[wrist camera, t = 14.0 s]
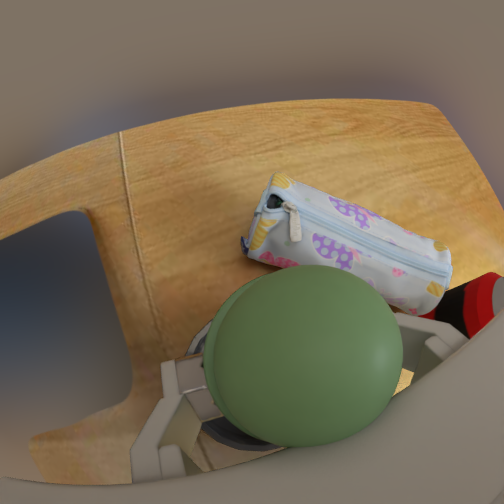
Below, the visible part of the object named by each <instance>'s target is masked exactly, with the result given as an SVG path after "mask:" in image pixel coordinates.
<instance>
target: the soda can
mask: <svg viewBox="0 0 504 504" xmlns="http://www.w3.org/2000/svg"><path fill="white" fill-rule="evenodd" d="M503 308H504V277H502V276H500V275H498V274H496V273H493V272H489V273H486V274H484V275H482V276H480V277H478V278H476V279H473V280H471V281H469V282H467V283H464V284H462V285H460V286H458V287H455V288H453V289H450V290H448V291H446V292H444V295H443V297H442V299H441V300H440V302H439V303H438V305H437V306H436V307H435V308H434V309H433V310H432V311H430V312H429V313H427V314H424V315H418V317H421V318H426V319H430V320H435V321H440V322H444V323H449V324H450V325H452V326H453V327H454V328H455V329H457V330H458V331H459V332H460V333H462V334H463V335H464V336H465V337H466V338H468V339H469V340H470V339H471V338H472V337H473V336H475V335H476V334H477V333H478V332H479V331H480V330H481V329H482V328H483V327H484V326H485V325H486V324H488V323H489V322H490V321H491V320H492V319H493V318H494V317H495V316H496V315H497V314H498V313H499V312H500V311H501V310H502V309H503Z"/></svg>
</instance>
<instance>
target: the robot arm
mask: <svg viewBox="0 0 504 504" xmlns="http://www.w3.org/2000/svg"><path fill="white" fill-rule="evenodd" d="M393 314H394V316H395V318H396V320H397V323H398V326H399V329H400V333H401V338H402V346H403V362H402V368H404V369H407V370H409V371H412V372H414V375H413V377H412V380H411V383H410V385H409V386H408V387H406V388H405V389H403V390H402V391H400V392H399V393H397V394H395V395H394V396H392V398H391V399H390V401H389V403H388V405H387V406H386V407H385V409H384V410H383V412H382V413H381V414H380V415H379V416H378V417H377V418H376V419H375V420H374V421H373V422H372V423H370V424H369V425H368V426H367V427H365V428H364V429H362V430H361V431H359V432H358V433H356V434H354V435H352V436H350V437H348V438H345V439H343V440H340V441H337V442H333V443H330V444H326V445H320V446H313V447H288V448H286V449H283V450H280V451H278V452H275V453H272V454H269V455H266V456H263V457H260V458H257V459H254V460H250V461H247V462H244V463H240V464H237V465H233V466H229V467H226V468H222V469H218V470H213V471H209V472H205V473H204V472H203V471H202V470H201V469H200V468H199V467H198V466H197V465H196V464H195V463H194V462H193V461H192V460H191V459H190V456H191V453H192V451H193V448H194V445H195V442H196V439H197V436H198V434H199V431H200V428H201V425H202V422H205V421H209V420H212V419H215V418H219V417H222V416H224V415H223V414H222V412H221V411H220V410H219V408H218V407H217V405H216V404H215V402H214V400H213V398H212V396H211V394H210V392H209V389H208V386H207V383H206V379H205V374H204V365H203V353H202V352H201V353H198V354H194V355H190V356H186V357H181V358H177V359H175V360H170V361H166V362H161V366H160V367H161V378H162V388H163V397H164V398H163V399H160V400H159V401H158V403H157V405H156V406H155V408H154V410H153V411H152V413H151V415H150V416H149V418H148V420H147V421H146V423H145V425H144V427H143V428H142V430H141V432H140V433H139V435H138V437H137V438H136V440H135V442H134V443H133V445H132V447H131V449H130V463H131V474H132V483H131V484H115V485H70V484H55V483H44V482H36V481H28V480H22V479H16V478H11V477H2V478H0V504H504V308H503V309H502V310H501V311H500V312H499V313H498V314H497V315H496V316H495V317H494V318H493V319H492V320H491V321H490V322H489V323H488V324H486V325H485V326H484V327H483V328H482V329H481V330H480V331H479V332H478V333H477V334H476V335H475V336H473V337H472V338H471V339H470V340H469V339H468V338H466V337H465V336H464V335H463V334H462V333H460V332H459V331H458V330H457V329H455V328H454V327H453V326H452V325H450V324H449V323H444V322H440V321H435V320H430V319H426V318H421V317H417V316H412V315H408V314H403V313H399V312H397V313H394V312H393Z"/></svg>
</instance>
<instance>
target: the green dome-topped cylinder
mask: <svg viewBox="0 0 504 504" xmlns="http://www.w3.org/2000/svg"><path fill="white" fill-rule="evenodd" d="M402 362H403V346H402V338H401V333H400V329H399V326H398V323H397V320H396V318H395V316H394V314H393V312H392V310H391V308H390V307H389V305H388V304H387V302H386V301H385V299H384V298H383V297H382V296H381V295H380V294H379V292H378V291H377V290H375V289H374V288H373V287H372V286H371V285H370V284H368V283H367V282H366V281H364V280H363V279H361V278H359V277H357V276H356V275H354V274H352V273H350V272H347V271H345V270H342V269H339V268H335V267H331V266H325V265H299V266H293V267H288V268H285V269H281V270H278V271H276V272H274V273H270V274H267V275H263V276H261V277H258V278H256V279H254V280H252V281H250V282H248V283H247V284H245V285H243V286H242V287H240V288H239V289H238V290H237V291H235V292H234V293H233V294H232V295H231V296H230V297H229V298H228V299H227V300H226V301H225V302H224V303H223V305H222V306H221V308H220V309H219V310H218V312H217V313H216V315H215V317H214V319H213V321H212V322H211V325H210V328H209V330H208V333H207V336H206V341H205V345H204V354H203V365H204V374H205V379H206V383H207V386H208V389H209V392H210V394H211V396H212V398H213V400H214V402H215V404H216V405H217V407H218V408H219V410H220V411H221V412H222V414H223V415H224V416H225V417H226V418H227V419H228V420H229V421H230V422H231V423H232V424H233V425H235V426H236V427H237V428H238V429H240V430H241V431H243V432H245V433H247V434H248V435H250V436H252V437H255V438H257V439H260V440H263V441H267V442H270V443H272V444H275V445H278V446H281V447H286V448H288V447H313V446H320V445H326V444H330V443H333V442H337V441H340V440H343V439H345V438H348V437H350V436H352V435H354V434H356V433H358V432H359V431H361V430H362V429H364V428H365V427H367V426H368V425H369V424H370V423H372V422H373V421H374V420H375V419H376V418H377V417H378V416H379V415H380V414H381V413H382V412H383V410H384V409H385V407H386V406H387V405H388V403H389V401H390V399H391V398H392V396H393V394H394V392H395V389H396V387H397V384H398V381H399V378H400V374H401V369H402Z"/></svg>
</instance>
